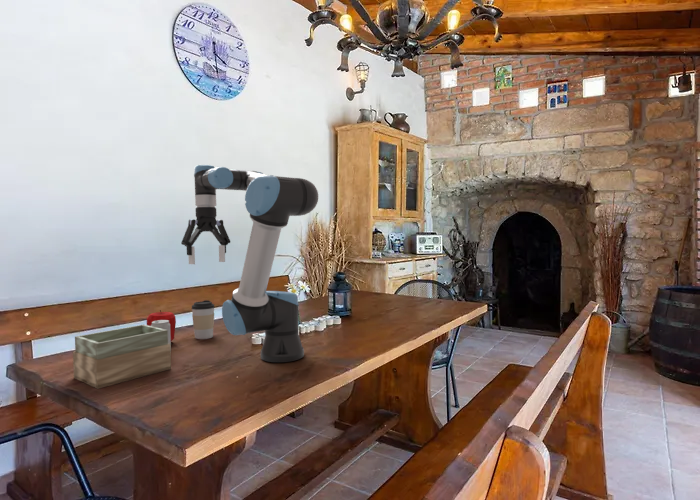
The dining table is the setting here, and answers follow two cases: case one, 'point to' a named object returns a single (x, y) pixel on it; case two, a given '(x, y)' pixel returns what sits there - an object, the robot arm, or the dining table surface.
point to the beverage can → (163, 325)
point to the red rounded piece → (163, 316)
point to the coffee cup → (203, 319)
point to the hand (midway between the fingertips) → (207, 263)
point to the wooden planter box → (120, 355)
